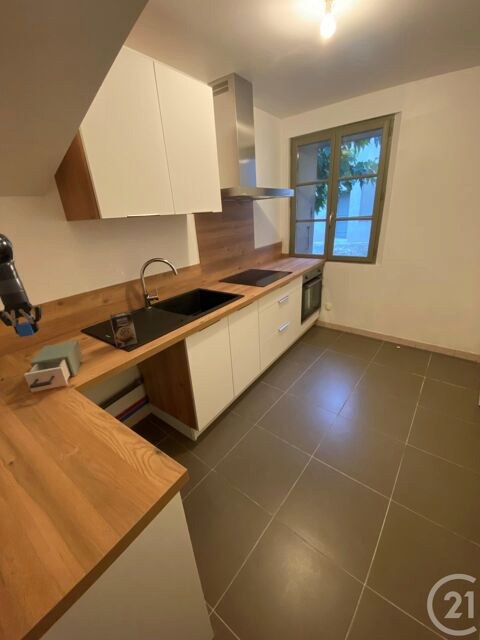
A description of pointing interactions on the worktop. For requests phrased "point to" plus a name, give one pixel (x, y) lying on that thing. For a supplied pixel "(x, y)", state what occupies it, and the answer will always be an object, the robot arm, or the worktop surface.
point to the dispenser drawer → (48, 375)
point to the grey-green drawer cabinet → (61, 355)
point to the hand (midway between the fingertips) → (28, 333)
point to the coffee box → (123, 329)
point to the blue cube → (24, 329)
